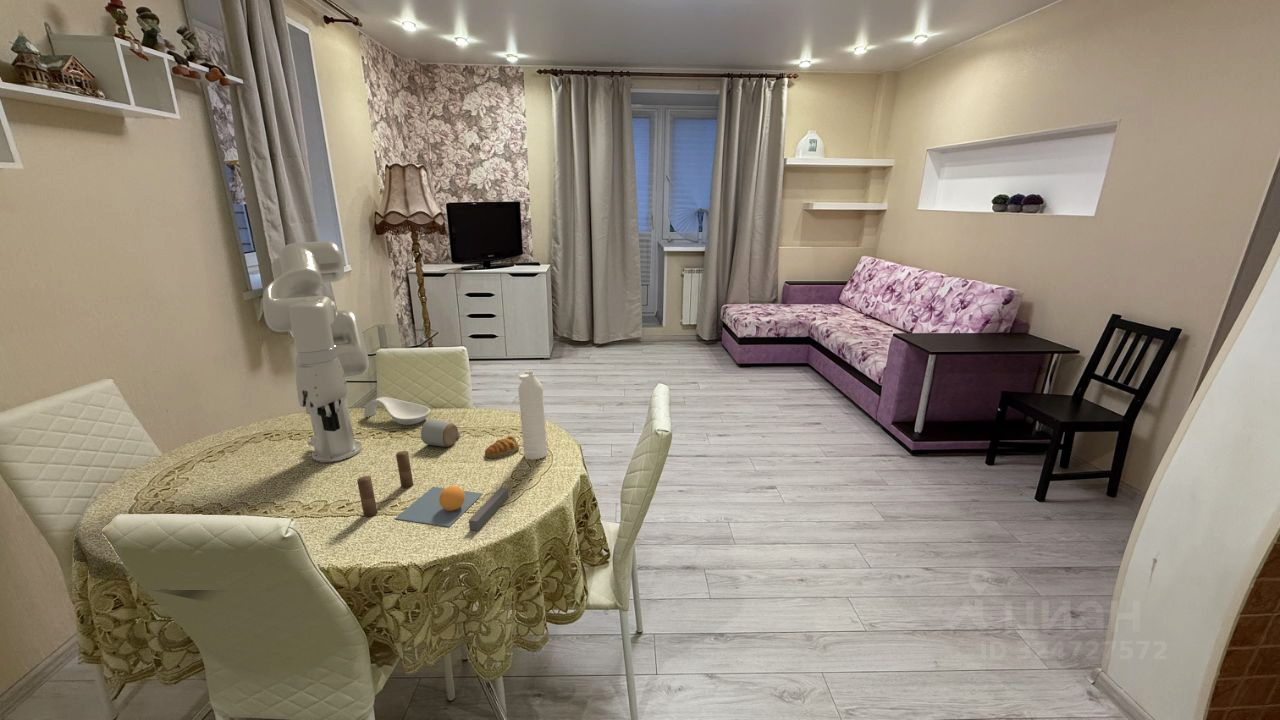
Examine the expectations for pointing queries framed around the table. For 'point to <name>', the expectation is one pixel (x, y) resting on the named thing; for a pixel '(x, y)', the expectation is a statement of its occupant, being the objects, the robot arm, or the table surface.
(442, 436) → the ceramic mug
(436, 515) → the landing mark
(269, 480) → the table surface
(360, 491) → the post
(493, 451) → the pastry
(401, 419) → the spoon rest
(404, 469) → the post
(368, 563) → the table surface
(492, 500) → the wall
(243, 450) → the table surface
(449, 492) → the ball
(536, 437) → the water bottle
